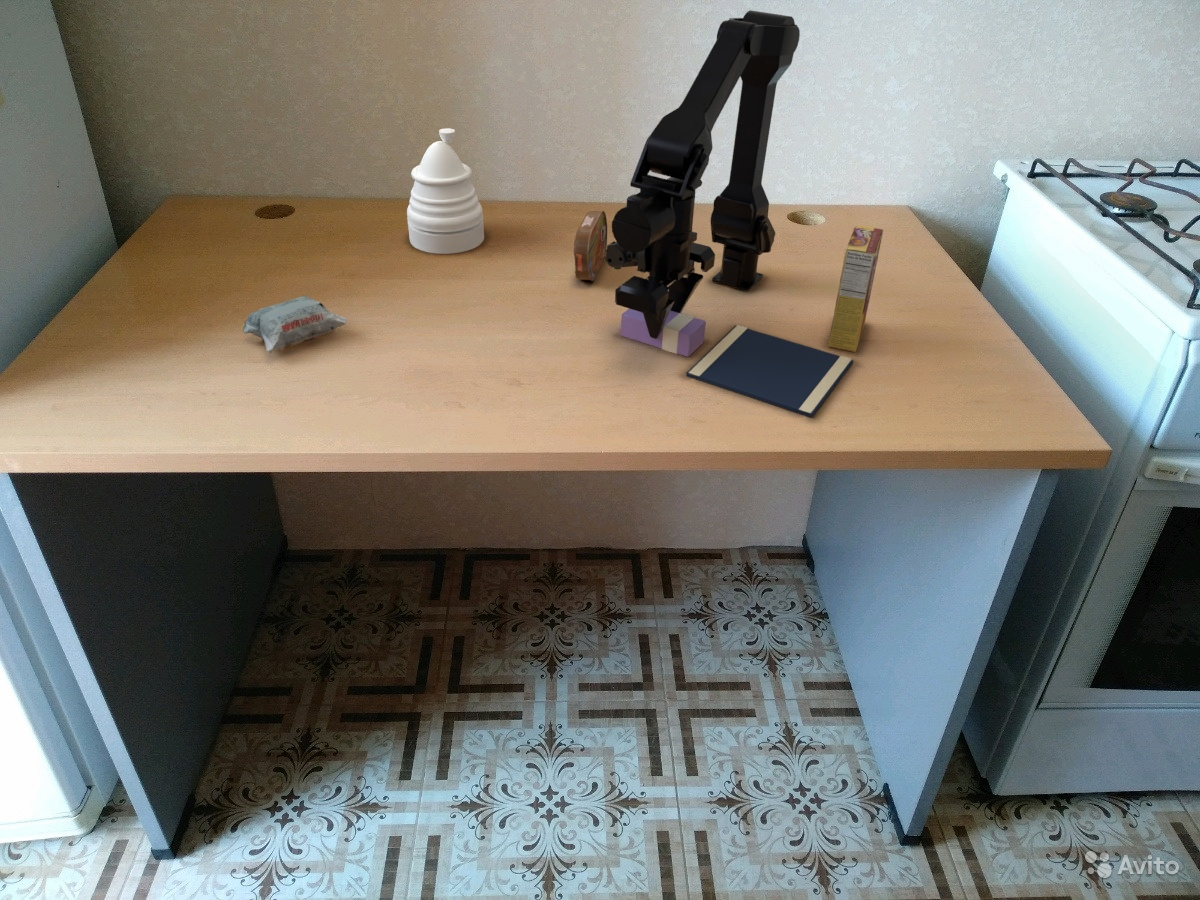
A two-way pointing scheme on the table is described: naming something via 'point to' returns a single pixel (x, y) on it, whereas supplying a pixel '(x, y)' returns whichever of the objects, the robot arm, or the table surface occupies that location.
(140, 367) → the table surface
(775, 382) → the towel
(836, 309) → the candy box
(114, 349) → the table surface
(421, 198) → the honey pot
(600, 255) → the tin
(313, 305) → the packaged food
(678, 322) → the chocolate
